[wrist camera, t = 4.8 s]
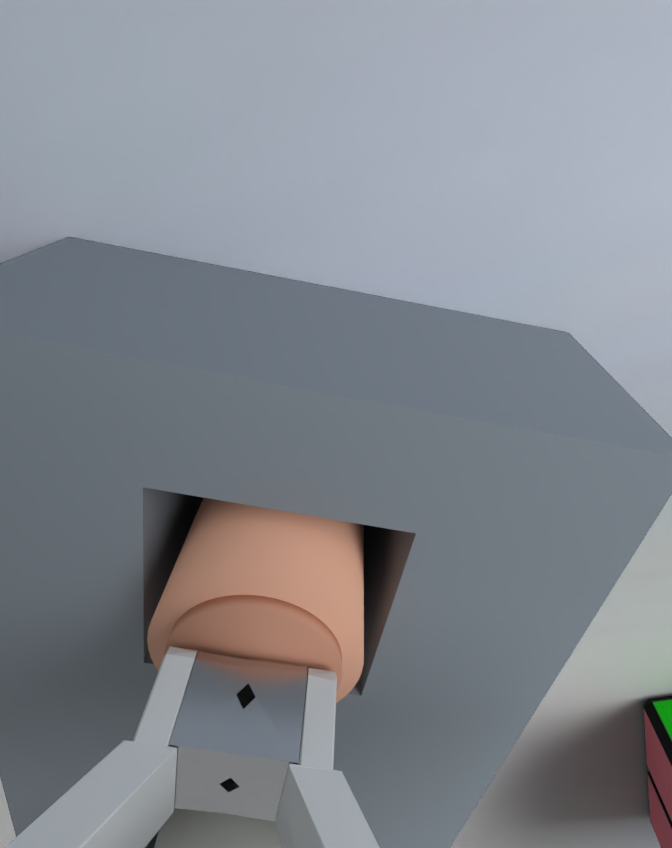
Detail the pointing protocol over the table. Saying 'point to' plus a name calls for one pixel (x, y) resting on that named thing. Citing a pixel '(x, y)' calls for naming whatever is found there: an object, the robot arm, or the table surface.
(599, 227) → the table surface
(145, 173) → the table surface
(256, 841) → the ivory plug
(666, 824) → the puzzle cube
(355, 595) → the terracotta plug
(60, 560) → the grey socket block
